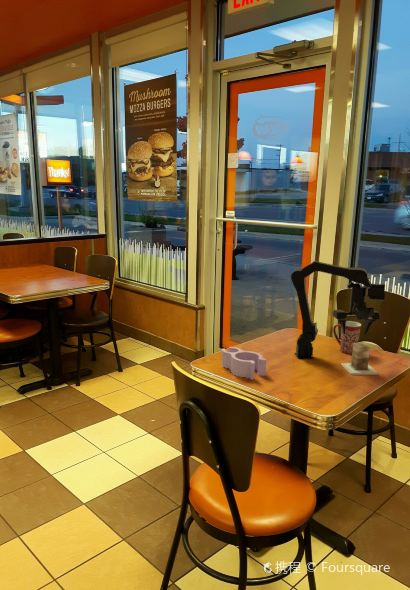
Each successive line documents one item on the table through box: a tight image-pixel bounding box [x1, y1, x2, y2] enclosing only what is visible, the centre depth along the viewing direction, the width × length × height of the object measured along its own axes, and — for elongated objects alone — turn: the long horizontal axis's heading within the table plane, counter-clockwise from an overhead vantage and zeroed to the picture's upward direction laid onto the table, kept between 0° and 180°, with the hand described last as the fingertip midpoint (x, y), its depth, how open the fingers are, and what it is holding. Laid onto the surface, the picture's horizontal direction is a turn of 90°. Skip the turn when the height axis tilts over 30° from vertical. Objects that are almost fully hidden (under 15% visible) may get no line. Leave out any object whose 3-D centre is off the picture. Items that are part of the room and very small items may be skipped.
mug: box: [332, 320, 362, 355], centre depth 209 cm, size 13×9×14 cm
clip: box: [220, 346, 267, 381], centre depth 183 cm, size 20×12×7 cm, turn 39°
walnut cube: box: [350, 354, 370, 370], centre depth 186 cm, size 5×5×5 cm
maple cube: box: [351, 342, 371, 359], centre depth 185 cm, size 5×5×5 cm
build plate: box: [341, 362, 379, 376], centre depth 187 cm, size 11×11×1 cm
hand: (354, 334), depth 192 cm, fingers open, 9 cm apart
